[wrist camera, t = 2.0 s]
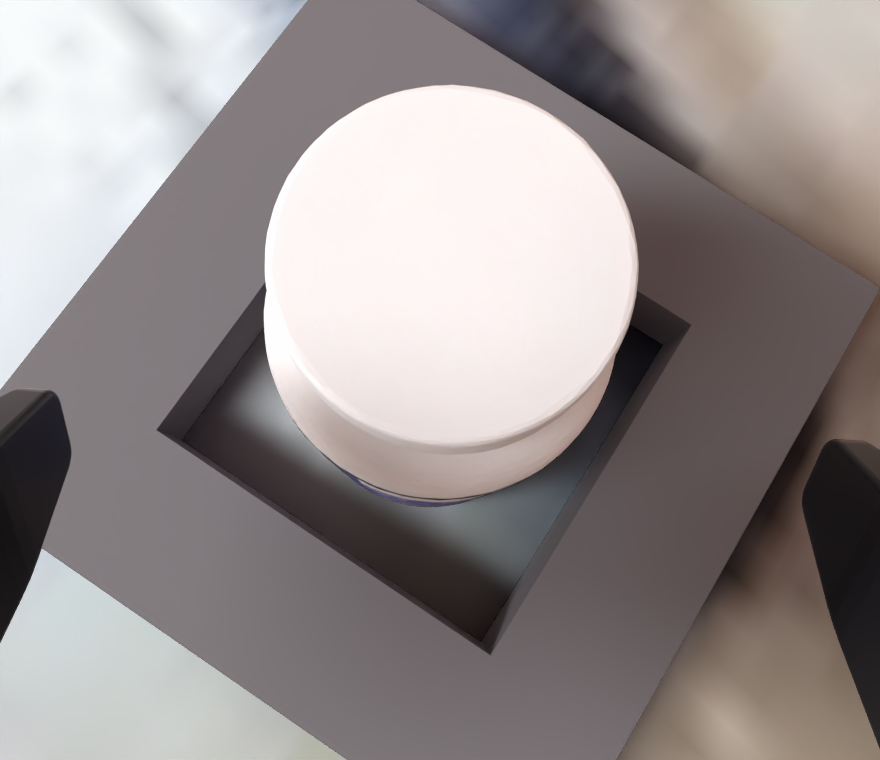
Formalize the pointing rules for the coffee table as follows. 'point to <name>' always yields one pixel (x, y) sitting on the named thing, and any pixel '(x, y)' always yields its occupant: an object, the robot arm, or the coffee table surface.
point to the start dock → (332, 568)
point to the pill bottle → (446, 291)
